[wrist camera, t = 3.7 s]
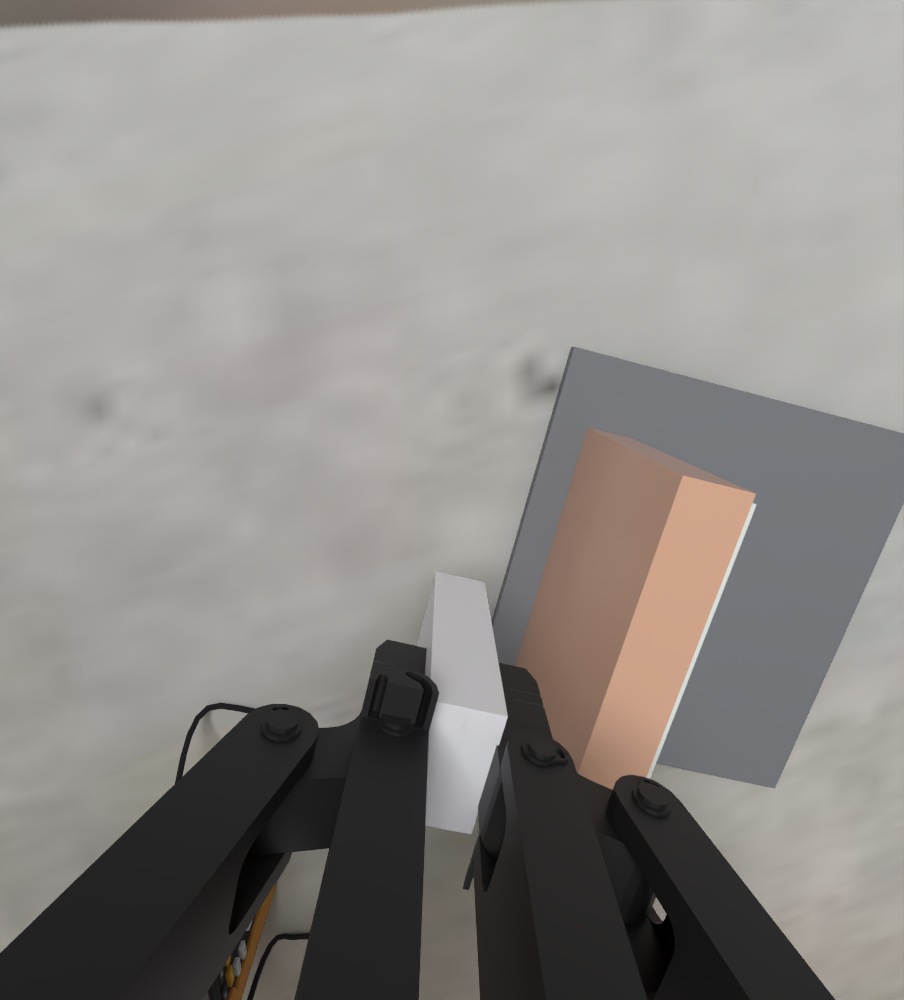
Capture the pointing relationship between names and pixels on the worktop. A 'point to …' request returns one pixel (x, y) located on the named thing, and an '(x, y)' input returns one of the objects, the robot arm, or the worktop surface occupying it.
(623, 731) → the tile
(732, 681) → the mat
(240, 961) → the multimeter
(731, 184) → the worktop surface
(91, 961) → the robot arm
